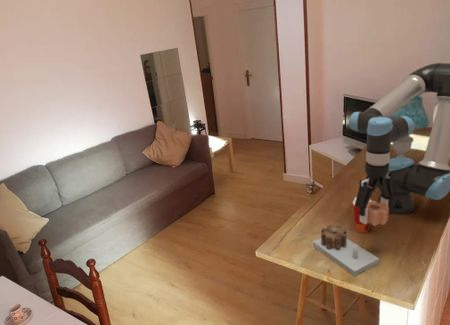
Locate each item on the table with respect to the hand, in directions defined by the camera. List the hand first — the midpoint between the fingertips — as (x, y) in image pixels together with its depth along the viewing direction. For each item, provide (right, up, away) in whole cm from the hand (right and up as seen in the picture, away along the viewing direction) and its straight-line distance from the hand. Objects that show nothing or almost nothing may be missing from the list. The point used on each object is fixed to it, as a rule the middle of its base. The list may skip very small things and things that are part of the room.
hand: (373, 218), depth 127 cm
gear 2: (0, 0, 0) cm, 0 cm away
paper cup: (+3, -8, +19) cm, 21 cm away
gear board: (-9, -15, +5) cm, 18 cm away
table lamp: (+46, +18, +70) cm, 86 cm away
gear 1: (-12, -11, +9) cm, 19 cm away
